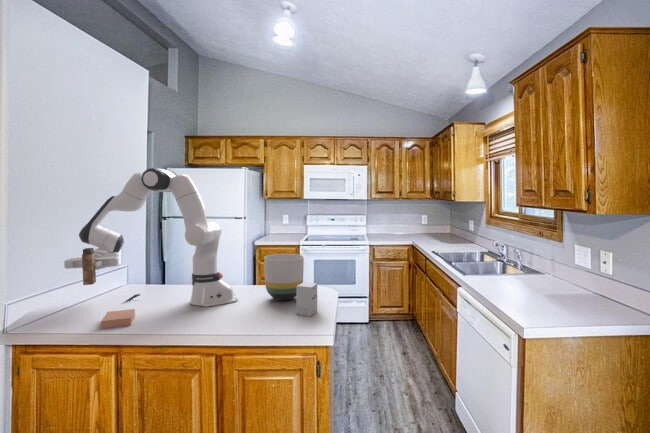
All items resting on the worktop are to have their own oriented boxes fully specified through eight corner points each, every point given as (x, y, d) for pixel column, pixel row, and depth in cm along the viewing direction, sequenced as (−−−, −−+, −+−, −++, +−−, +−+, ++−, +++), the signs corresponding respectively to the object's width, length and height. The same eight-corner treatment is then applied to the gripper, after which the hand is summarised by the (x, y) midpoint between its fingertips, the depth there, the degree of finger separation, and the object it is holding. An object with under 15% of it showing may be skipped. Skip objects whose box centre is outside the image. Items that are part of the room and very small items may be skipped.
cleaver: (154, 294, 181) (134, 295, 180) (154, 293, 181) (134, 294, 180) (125, 313, 152) (102, 314, 151) (125, 312, 152) (102, 312, 151)
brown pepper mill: (95, 281, 151) (94, 247, 150) (93, 284, 146) (91, 249, 145) (86, 282, 150) (85, 248, 149) (83, 285, 145) (81, 249, 144)
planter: (298, 292, 185) (298, 252, 184) (308, 302, 166) (308, 258, 165) (262, 295, 179) (261, 254, 178) (267, 306, 160) (267, 261, 159)
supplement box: (311, 316, 147) (311, 287, 146) (295, 314, 149) (295, 285, 149) (317, 311, 154) (317, 283, 153) (302, 309, 156) (302, 281, 156)
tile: (134, 308, 148) (130, 317, 136) (135, 316, 148) (130, 326, 137) (107, 311, 144) (101, 321, 133) (108, 319, 144) (101, 329, 133)
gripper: (69, 254, 155) (58, 259, 142) (121, 251, 163) (115, 256, 150) (69, 268, 156) (59, 274, 143) (121, 265, 163) (115, 270, 150)
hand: (88, 265), depth 146 cm, fingers closed on brown pepper mill, 3 cm apart
